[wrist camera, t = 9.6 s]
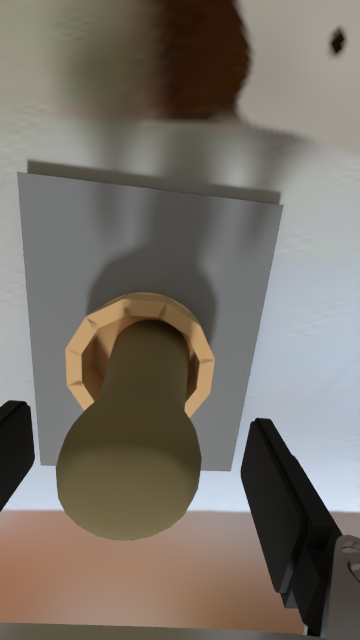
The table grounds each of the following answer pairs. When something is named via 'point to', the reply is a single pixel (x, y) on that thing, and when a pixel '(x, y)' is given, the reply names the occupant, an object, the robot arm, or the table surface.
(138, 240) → the slate board
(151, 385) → the cork
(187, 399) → the tan shallow bowl
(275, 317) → the table surface
